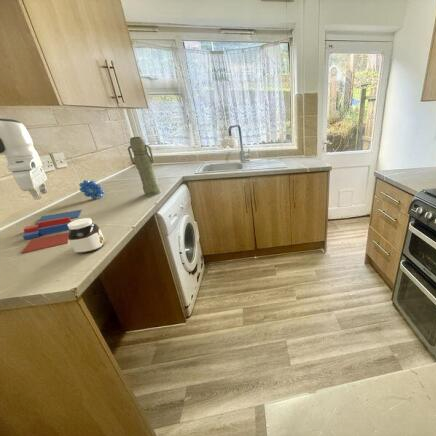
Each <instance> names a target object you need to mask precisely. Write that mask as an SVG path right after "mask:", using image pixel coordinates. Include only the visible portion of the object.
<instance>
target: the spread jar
mask: <svg viewBox="0 0 436 436" xmlns="http://www.w3.org/2000/svg"><path fill="white" fill-rule="evenodd" d="M67 226H68V228H69V229H70V230H68V232H69V233H68V243H67V244H68V246H69V247H71V248H72V250H73V252H74V253H76V254H79V255H86V254H91V253H94V252H97V251H99V250H101V249H102V248H103V247H104V245H105V237H104V235H103V232H102V230H101V228H100V226H99V225H97V224H96V223H94V222H93V221H92V219H91V218H90V217H84V218H79V219H78V218H77V219H75V220H73V221H72V220H71V222H70V223H69V224H68V225H67Z"/></svg>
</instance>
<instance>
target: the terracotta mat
mask: <svg viewBox="0 0 436 436" xmlns="http://www.w3.org/2000/svg"><path fill="white" fill-rule="evenodd" d="M68 233H69V231H67V232H62V233H57V234H52V235H47V236H41V237H36V238H31V239H29V241H28V243H27V244H26V245H25V247H24V248H22V251H21V252H20V253H21V254H22V255H23V254H28V253H32V252H36V251H40V250H44V249H49V248H53V247H57V246H61V245H62V246H63V245H67V244H68Z"/></svg>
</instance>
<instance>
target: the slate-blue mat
mask: <svg viewBox="0 0 436 436" xmlns="http://www.w3.org/2000/svg"><path fill="white" fill-rule="evenodd" d="M82 211H83V209H77V210H71V211H65V212H59V213H54V214H53V213H52V214H47V215H42V216H41V217H40V218H39V219H38V220H37V221H36V222H35V224H34V225H38V222H43V221H48V220H54V219H60V218H65V217H70V220H73V219H78V218H79V217H80V215H81V213H82Z"/></svg>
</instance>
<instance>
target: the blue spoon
mask: <svg viewBox="0 0 436 436" xmlns="http://www.w3.org/2000/svg"><path fill="white" fill-rule="evenodd" d="M68 224H69V223H65V224H59V225H54V226H48V227H43V228H39V229H38V230H37V231H32V232H27V233H25V232H24V234H23V235H22V238H23V240H32V239H37V238H41V237H43V236H46V235H47V236H48V235H51V234H52V235H53V234H56V233H61V232H64V231H69V230H70V229H69V228H68V226H67V225H68Z"/></svg>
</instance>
